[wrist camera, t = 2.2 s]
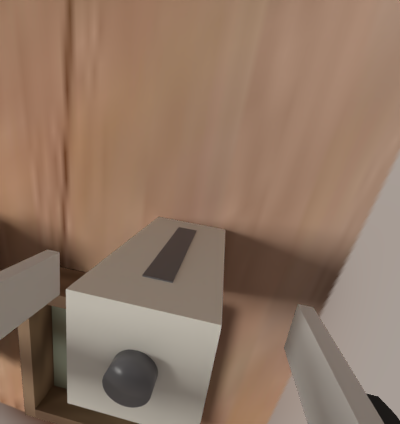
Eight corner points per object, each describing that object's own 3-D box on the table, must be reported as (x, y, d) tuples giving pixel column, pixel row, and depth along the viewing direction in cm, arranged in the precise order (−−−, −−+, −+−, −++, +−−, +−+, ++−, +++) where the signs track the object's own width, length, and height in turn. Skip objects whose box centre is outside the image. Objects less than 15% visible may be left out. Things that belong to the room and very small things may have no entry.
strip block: (158, 216, 15) (49, 299, 6) (225, 228, 15) (221, 340, 5) (152, 276, 16) (54, 423, 7) (213, 289, 16) (193, 464, 7)
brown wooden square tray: (49, 264, 17) (14, 284, 15) (199, 297, 16) (192, 327, 13) (53, 379, 21) (25, 414, 18) (178, 414, 20) (169, 457, 17)
